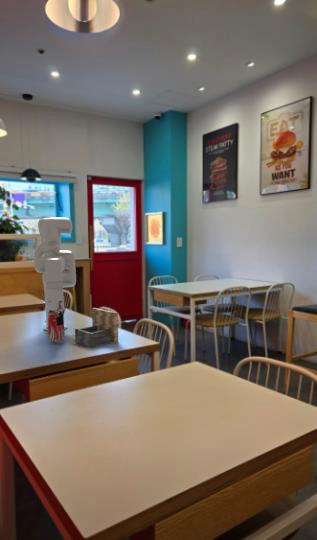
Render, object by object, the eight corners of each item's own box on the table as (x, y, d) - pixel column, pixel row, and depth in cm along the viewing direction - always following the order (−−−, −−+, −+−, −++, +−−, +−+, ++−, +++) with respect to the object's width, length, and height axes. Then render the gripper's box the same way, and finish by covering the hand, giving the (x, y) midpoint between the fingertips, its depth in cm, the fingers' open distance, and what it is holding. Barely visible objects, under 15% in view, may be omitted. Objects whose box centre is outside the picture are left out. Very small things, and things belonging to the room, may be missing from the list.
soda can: (66, 337, 178) (65, 310, 177) (61, 342, 171) (60, 314, 170) (52, 337, 179) (51, 310, 178) (46, 341, 172) (44, 313, 170)
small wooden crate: (73, 340, 179) (72, 311, 178) (96, 335, 188) (95, 307, 187) (94, 348, 166) (93, 316, 165) (118, 342, 175) (117, 312, 174)
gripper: (37, 284, 176) (39, 321, 178) (56, 288, 164) (57, 328, 166) (52, 282, 181) (54, 319, 183) (71, 286, 169) (73, 325, 171)
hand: (55, 323), depth 174 cm, fingers closed on soda can, 6 cm apart
